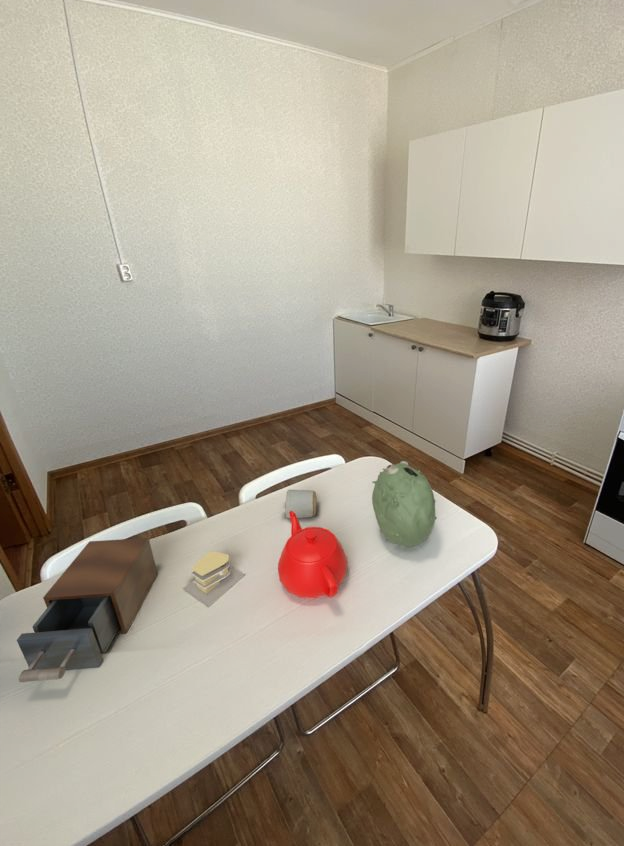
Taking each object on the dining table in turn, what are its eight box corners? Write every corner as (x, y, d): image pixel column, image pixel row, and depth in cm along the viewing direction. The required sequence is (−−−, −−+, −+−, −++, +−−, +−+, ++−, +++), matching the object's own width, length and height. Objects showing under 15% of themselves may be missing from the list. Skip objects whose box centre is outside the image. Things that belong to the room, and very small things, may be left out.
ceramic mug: (316, 522, 104) (315, 498, 102) (286, 524, 104) (284, 500, 101) (317, 499, 114) (316, 477, 112) (289, 501, 114) (287, 478, 111)
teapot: (369, 600, 81) (369, 554, 77) (300, 634, 74) (295, 586, 70) (321, 530, 101) (318, 491, 97) (263, 552, 94) (258, 511, 90)
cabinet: (126, 633, 75) (113, 592, 71) (59, 638, 74) (42, 597, 70) (157, 574, 88) (148, 537, 85) (101, 578, 87) (89, 541, 84)
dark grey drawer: (85, 698, 63) (70, 661, 60) (12, 705, 62) (-7, 668, 59) (136, 604, 80) (127, 571, 77) (79, 608, 79) (68, 575, 76)
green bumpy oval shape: (402, 574, 87) (404, 501, 80) (358, 528, 102) (356, 462, 95) (451, 547, 95) (457, 478, 88) (404, 507, 110) (406, 445, 103)
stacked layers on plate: (208, 607, 80) (204, 587, 78) (182, 588, 84) (177, 569, 83) (245, 574, 88) (242, 555, 86) (219, 559, 92) (216, 541, 90)
